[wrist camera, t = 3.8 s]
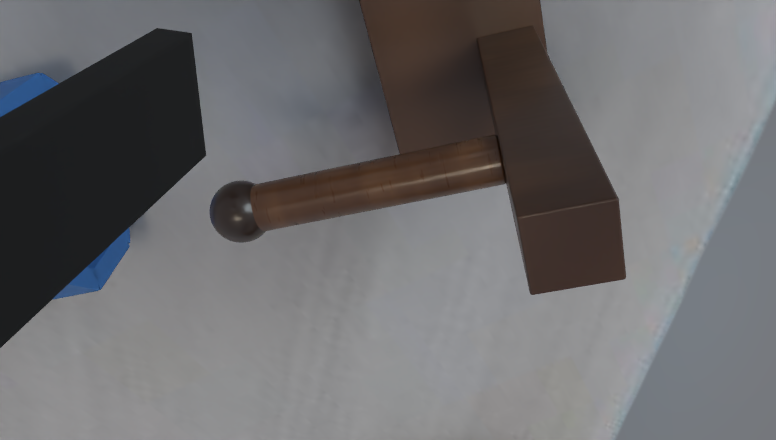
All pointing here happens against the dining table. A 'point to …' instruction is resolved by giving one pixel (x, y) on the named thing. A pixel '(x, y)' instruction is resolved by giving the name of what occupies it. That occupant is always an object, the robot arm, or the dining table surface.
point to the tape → (96, 274)
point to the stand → (463, 141)
